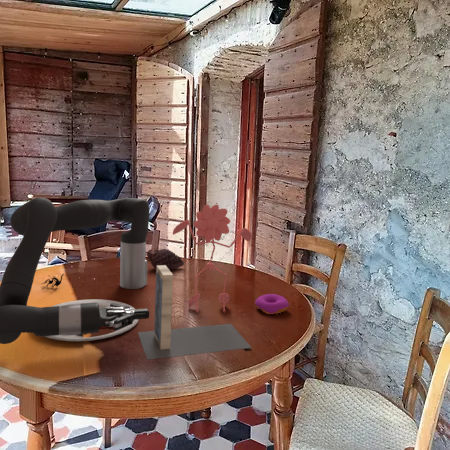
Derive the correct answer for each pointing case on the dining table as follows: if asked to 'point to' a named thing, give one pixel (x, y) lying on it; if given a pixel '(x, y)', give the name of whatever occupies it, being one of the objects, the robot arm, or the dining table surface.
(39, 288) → the dining table surface
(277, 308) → the donut
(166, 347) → the birch picture frame
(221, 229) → the figurine
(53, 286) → the creature
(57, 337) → the plated food
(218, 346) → the rubber mat
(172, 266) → the pine cone
